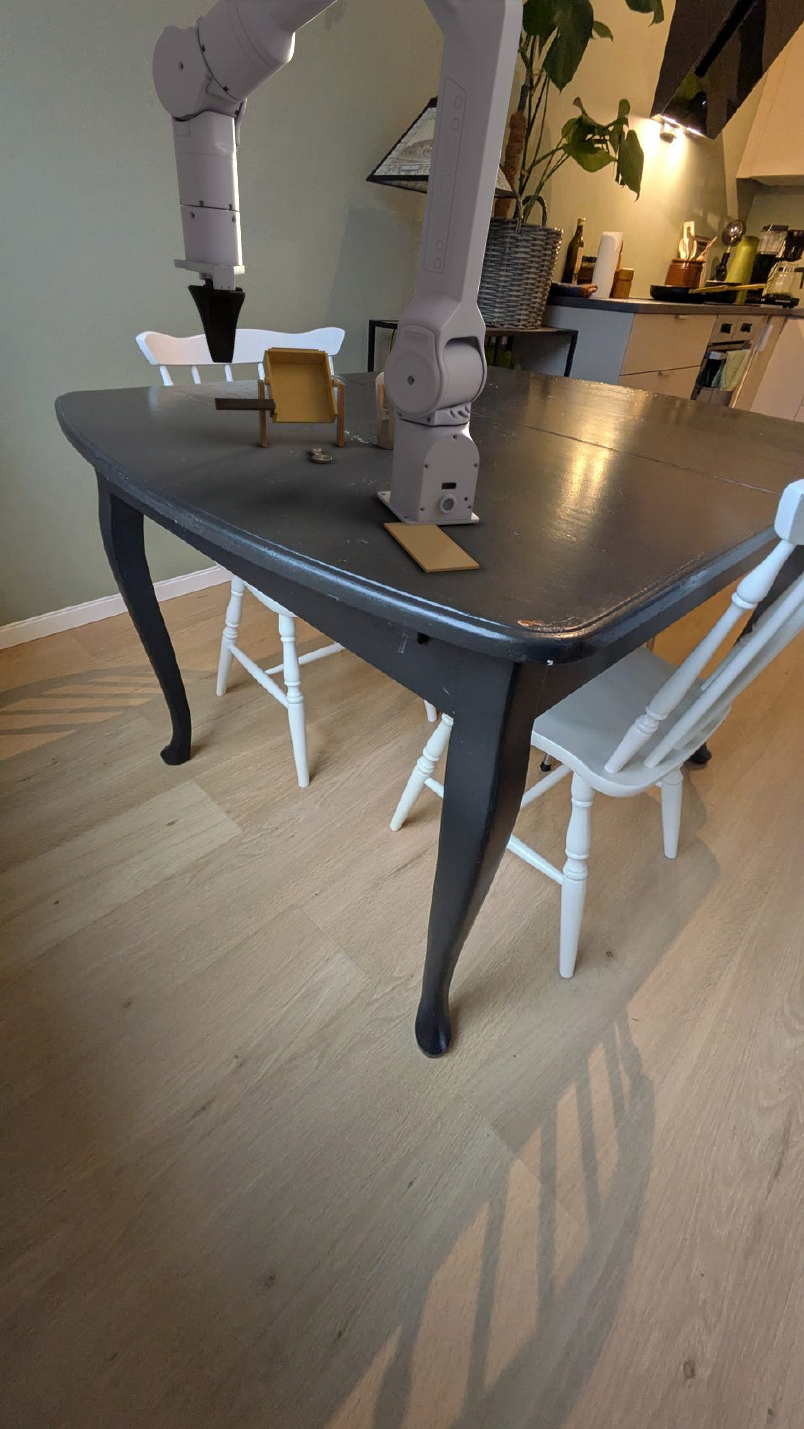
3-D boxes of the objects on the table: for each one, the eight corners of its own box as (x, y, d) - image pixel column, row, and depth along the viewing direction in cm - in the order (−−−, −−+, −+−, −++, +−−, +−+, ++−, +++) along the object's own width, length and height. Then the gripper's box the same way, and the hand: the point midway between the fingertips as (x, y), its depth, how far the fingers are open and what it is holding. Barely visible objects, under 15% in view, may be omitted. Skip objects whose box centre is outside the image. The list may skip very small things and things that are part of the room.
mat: (478, 568, 55) (479, 565, 55) (426, 572, 53) (426, 569, 53) (430, 523, 63) (431, 520, 63) (383, 526, 61) (383, 523, 61)
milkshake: (407, 442, 89) (414, 362, 83) (403, 452, 84) (410, 368, 78) (375, 439, 89) (379, 358, 83) (370, 448, 85) (374, 364, 79)
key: (321, 448, 81) (321, 451, 81) (303, 448, 80) (303, 452, 80) (334, 459, 77) (333, 463, 77) (315, 460, 76) (315, 463, 77)
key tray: (338, 423, 82) (343, 410, 79) (215, 422, 77) (216, 409, 74) (327, 359, 83) (332, 344, 80) (204, 354, 78) (205, 338, 75)
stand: (343, 446, 84) (345, 384, 80) (262, 447, 81) (259, 382, 76) (340, 443, 85) (341, 381, 81) (260, 443, 82) (257, 379, 78)
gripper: (163, 206, 67) (179, 350, 75) (173, 202, 57) (191, 372, 65) (230, 213, 70) (239, 353, 78) (252, 211, 59) (260, 374, 67)
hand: (222, 362), depth 71 cm, fingers closed
